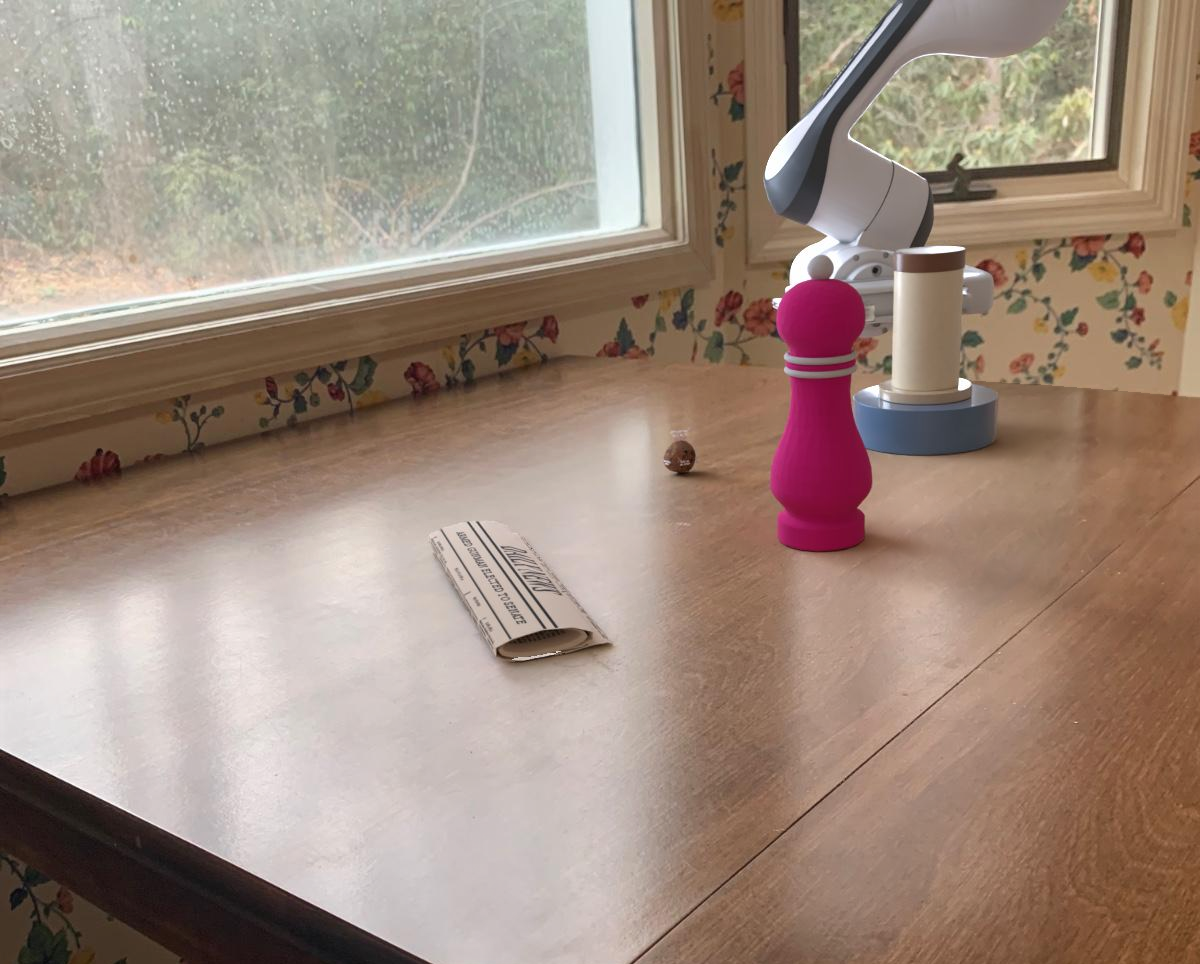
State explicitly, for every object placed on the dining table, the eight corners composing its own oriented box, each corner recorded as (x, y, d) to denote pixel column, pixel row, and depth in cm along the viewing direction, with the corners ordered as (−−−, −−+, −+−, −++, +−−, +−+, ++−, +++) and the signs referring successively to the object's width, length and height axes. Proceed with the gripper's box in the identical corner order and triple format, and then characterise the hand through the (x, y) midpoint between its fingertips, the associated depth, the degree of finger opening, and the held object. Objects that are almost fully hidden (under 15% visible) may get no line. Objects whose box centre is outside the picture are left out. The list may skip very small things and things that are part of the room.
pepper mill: (826, 561, 84) (826, 262, 76) (750, 540, 89) (743, 259, 82) (892, 535, 88) (898, 250, 80) (816, 516, 93) (815, 247, 86)
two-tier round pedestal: (960, 416, 120) (962, 366, 118) (1021, 446, 108) (1024, 391, 106) (834, 429, 119) (834, 378, 117) (881, 461, 107) (882, 405, 105)
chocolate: (668, 479, 106) (666, 434, 104) (661, 472, 108) (659, 428, 106) (701, 474, 106) (699, 430, 105) (693, 468, 108) (692, 425, 107)
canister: (943, 375, 115) (948, 244, 110) (971, 387, 109) (977, 249, 105) (880, 381, 114) (883, 249, 110) (905, 393, 108) (909, 255, 104)
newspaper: (429, 549, 92) (426, 527, 91) (520, 535, 93) (518, 513, 93) (496, 666, 71) (493, 638, 70) (612, 645, 72) (610, 617, 72)
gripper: (766, 269, 122) (807, 284, 110) (959, 252, 125) (1021, 264, 112) (767, 332, 125) (807, 354, 112) (957, 315, 127) (1017, 333, 114)
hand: (916, 309), depth 112 cm, fingers open, 8 cm apart
